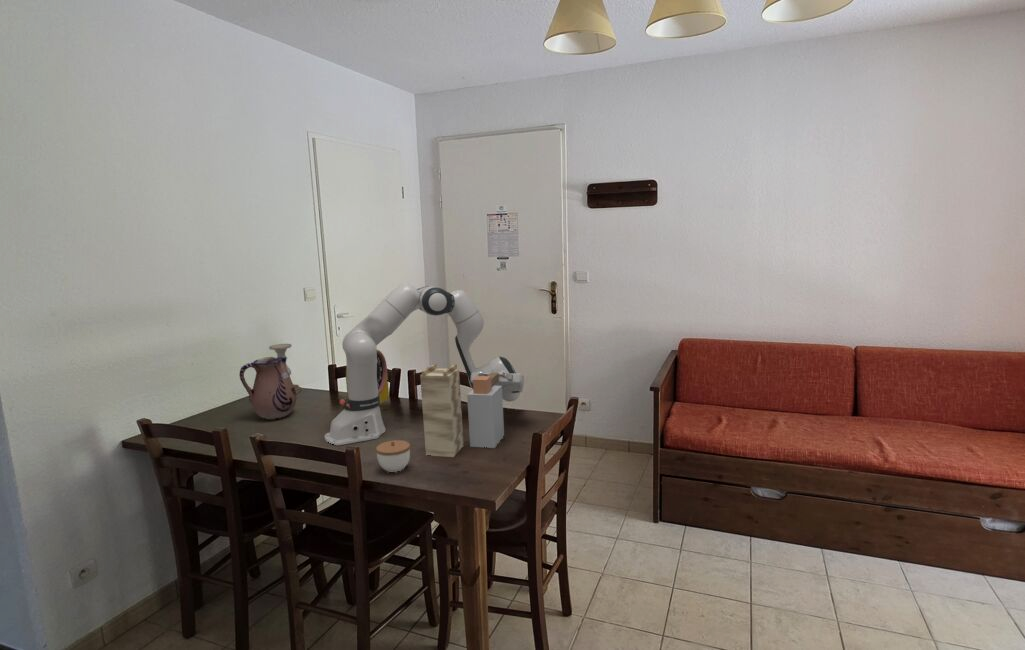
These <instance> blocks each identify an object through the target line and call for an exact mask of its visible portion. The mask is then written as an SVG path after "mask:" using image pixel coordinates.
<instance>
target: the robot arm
mask: <svg viewBox="0 0 1025 650" xmlns="http://www.w3.org/2000/svg"><path fill="white" fill-rule="evenodd" d="M417 310H420V311H422V312H423V313H425V314H427V315H430V316H435V317H436V316H441V315H444V314H447V315H448V316H449V317H450V318H451V321H452V322H453V324H454V326H455V329H456V335H455V337H454V340H455V345H456V349H457V351H458V354H459V357H460V359H461V362H462V366H463V367H464V370H465V373H466V375H467V378H468V383H469V386H470V388H471V389H472V390H473V379H474V378H476V377H477V376H488V375H489V374H490V373H499V381H498V382H497V383H496V384H495V385H494V386H502V400H503V401H505V402H509V403H510V402H515V401H516V400H517V399H519V397H520V396H521V395H520V394H521V393H523V391H524V386H525V385H524V384H525V383H524V382H525V375H524V374H522V373H516V370H515V368H514V367H513V365H512V363H510V361H509V360H508V359H507V358H506V357H504V356H498V357H495V358H494V359H492V360H490V361H488V362H487V363H486V364H483V365H481V366H480V367H476V365H475V363H474V360H473V358H472V356H471V353H470V347H472V344H473V343H474V342H475V341H476V339H477V338H478V337H479V335H480V334H481V332H482V330H483V328H484V324H485V321H484V318H483V316H482V314H481V313H482V312H480V309H479V308H478V307H477V305H476V303H475V302H474V301H473V298H471V297H470V295H469V294H467V291H465V290H462V289H457V290H453V291H451V292H449V291H447V290H445V289H443V288H442V287H439V286H436V285H425V286H423V287H420V288H416V287H415V286H413V285H411V284H409V283H402V284H400V285H398V287H396V288H395V289H394V290H392V291H391V292H390V293H389V294H387V296H385V298H384V299H382V300H381V302H380V303H379V304H378V305H377V306H376V307H375V308H374V309H373V310H372V311H371V312H370V313H369V314H368V315H367V316H366V317H364V318H363V319H362V320H361V321H359V323H357V324H356V325H355V326H354V327H353V328H352V329H351V330H350V331H349V332H348V333H347V334H345V336H344V337H343V340H342V342H341V343H342V344H341V345H342V349H343V352H344V353H345V357H346V358H345V359H346V367H347V384H346V388H347V387H348V395H347V399H344V398H343V399H340V400H339V404H340V405H341V406H343V408H344V409H343V410H342V411H340V413H338V415H337V416H336V417H334V419H332V420H331V422H330V427H329V428H330V429H329V432H327V433H325V435H324V440H325V442H327V443H328V442H329V443H328V444H330V443H331V444H330V445H332V444H334V445H333V446H342V445H348V444H355V443H360V442H364V441H370V440H376V439H378V438H380V436H381V435H382V434H384V433H385V432H386V427H385V424H384V420H383V417H382V413H381V404H382V403H381V402H380V396H379V394H378V385H377V350H378V349H377V346H378V345H379V344H381V342H383V341H384V340H385V339H387V337H389V336H391V335H392V334H394V332H395V331H396V330H398V328H399V327H400V326H401V325H402V324H403V323H404V322H405V320H406V319H407V318H408V317H409V316H410V315H411V314H412V313H413V312H414V311H417ZM348 397H349V398H348Z"/></svg>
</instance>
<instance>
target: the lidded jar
mask: <svg viewBox="0 0 1025 650" xmlns="http://www.w3.org/2000/svg"><path fill="white" fill-rule="evenodd" d="M375 452H376V458H377V462H378V464H379V465H380V468H382V469H383V470H384V471H385V470H386V471H389V472H395V473H398V472H397V471H400V472H402V471H403V470H405V467H406V466H408V465H409V464H408V463H409V461H410V458H411V444H410V443H409V442H408V441H406V440H402V439H401V440H400V439H398V440H395V439H394V440H388V441H385V442H382V443H380V444H378V445H377V446H376V448H375ZM402 469H403V470H402ZM401 470H402V471H401ZM386 471H385V472H386ZM389 472H388V473H389Z"/></svg>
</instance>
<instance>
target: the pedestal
mask: <svg viewBox="0 0 1025 650" xmlns="http://www.w3.org/2000/svg"><path fill="white" fill-rule="evenodd" d="M466 397H467V398H466V399H467V414H468V415H467V416H468V431H469V447H470V448H484V447H485V449H486V447H487V448H488V449H496V447H497V446H498V445H499V443H500V442H501V441H500V440H501V439H502V440H503V439H504V437H505V429H504V428H505V426H504V425H505V423H504V408H503V407H504V403H503V402H504V400H503V399H502V386H493V387H492V390H491V391H490V392H489V393H488V394H474V393H473V389H472V390H470V391H469V392H468V393H467V394H466ZM503 436H504V437H503ZM497 444H498V445H497Z"/></svg>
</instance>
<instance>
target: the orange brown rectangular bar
mask: <svg viewBox="0 0 1025 650" xmlns="http://www.w3.org/2000/svg"><path fill="white" fill-rule="evenodd" d="M498 381H499V373H490V374H489V375H488V376H477V377H476V378H474V379H473V389H472V390H473V393H474V394H488V393H489V392H490V391H491V390H492V387H493V386H494V385H495V384H496V383H497V382H498Z"/></svg>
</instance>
